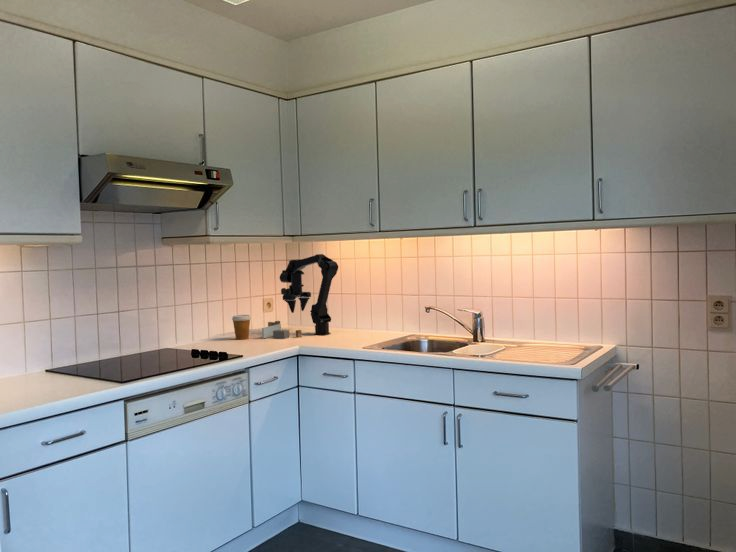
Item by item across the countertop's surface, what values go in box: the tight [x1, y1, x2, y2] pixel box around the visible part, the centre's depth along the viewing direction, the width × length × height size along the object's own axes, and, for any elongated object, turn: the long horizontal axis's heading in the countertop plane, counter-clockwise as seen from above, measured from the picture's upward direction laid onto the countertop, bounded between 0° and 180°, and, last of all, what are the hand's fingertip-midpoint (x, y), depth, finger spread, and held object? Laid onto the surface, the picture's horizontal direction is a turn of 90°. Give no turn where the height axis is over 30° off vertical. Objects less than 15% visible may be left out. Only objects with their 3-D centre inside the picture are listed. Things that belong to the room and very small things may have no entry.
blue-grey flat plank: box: [261, 323, 282, 339], centre depth 331 cm, size 16×1×6 cm, turn 153°
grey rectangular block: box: [272, 329, 290, 340], centre depth 325 cm, size 7×4×4 cm, turn 61°
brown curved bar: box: [267, 320, 303, 338], centre depth 335 cm, size 27×2×7 cm, turn 43°
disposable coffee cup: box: [231, 314, 251, 341], centre depth 326 cm, size 10×10×12 cm
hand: (297, 311), depth 343 cm, fingers open, 9 cm apart
